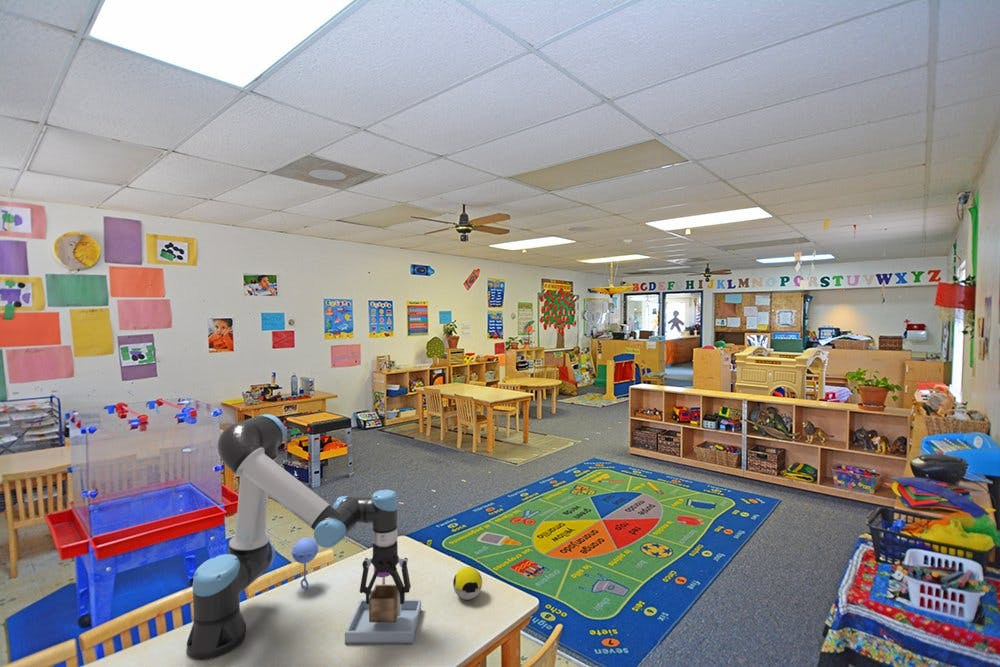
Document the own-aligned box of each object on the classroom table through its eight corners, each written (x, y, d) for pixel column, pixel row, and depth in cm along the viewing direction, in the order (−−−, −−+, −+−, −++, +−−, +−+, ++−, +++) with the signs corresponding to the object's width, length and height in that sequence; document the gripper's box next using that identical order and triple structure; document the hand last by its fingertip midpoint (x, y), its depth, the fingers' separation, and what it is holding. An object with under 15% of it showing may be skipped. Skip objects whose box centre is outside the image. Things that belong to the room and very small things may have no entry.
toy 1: (388, 597, 160) (388, 554, 159) (370, 594, 161) (370, 552, 161) (396, 586, 166) (396, 545, 166) (379, 583, 168) (379, 543, 167)
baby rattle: (323, 586, 166) (323, 537, 165) (302, 598, 158) (301, 547, 158) (308, 579, 170) (308, 530, 170) (286, 590, 163) (286, 540, 162)
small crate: (369, 622, 140) (369, 599, 140) (375, 606, 148) (375, 584, 148) (395, 622, 141) (395, 599, 140) (400, 605, 149) (400, 584, 148)
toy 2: (478, 586, 166) (478, 559, 166) (485, 604, 156) (485, 575, 156) (450, 591, 164) (451, 563, 163) (456, 608, 154) (456, 579, 153)
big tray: (344, 644, 137) (344, 632, 136) (360, 609, 153) (360, 599, 152) (412, 644, 137) (412, 632, 137) (421, 610, 153) (421, 599, 153)
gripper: (347, 547, 140) (348, 621, 141) (416, 547, 140) (416, 621, 141) (355, 536, 147) (355, 606, 148) (420, 536, 148) (420, 605, 148)
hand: (385, 613), depth 145 cm, fingers closed on small crate, 8 cm apart
